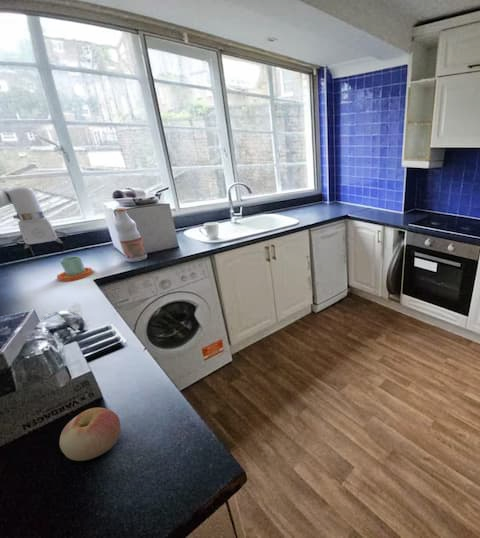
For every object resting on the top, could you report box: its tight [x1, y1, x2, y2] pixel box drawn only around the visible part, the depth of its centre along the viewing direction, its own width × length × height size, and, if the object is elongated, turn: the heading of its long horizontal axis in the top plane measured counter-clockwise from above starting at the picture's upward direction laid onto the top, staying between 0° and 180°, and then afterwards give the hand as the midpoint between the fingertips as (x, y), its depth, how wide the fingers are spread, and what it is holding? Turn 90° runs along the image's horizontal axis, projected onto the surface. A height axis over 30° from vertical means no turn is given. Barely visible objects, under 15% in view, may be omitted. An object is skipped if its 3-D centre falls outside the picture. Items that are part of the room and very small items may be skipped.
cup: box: [59, 255, 86, 277], centre depth 140 cm, size 7×7×9 cm
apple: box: [59, 406, 121, 462], centre depth 58 cm, size 9×9×8 cm
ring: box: [56, 266, 94, 283], centre depth 142 cm, size 12×12×2 cm
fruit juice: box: [113, 207, 148, 263], centre depth 156 cm, size 9×9×28 cm
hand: (48, 253), depth 133 cm, fingers open, 9 cm apart
